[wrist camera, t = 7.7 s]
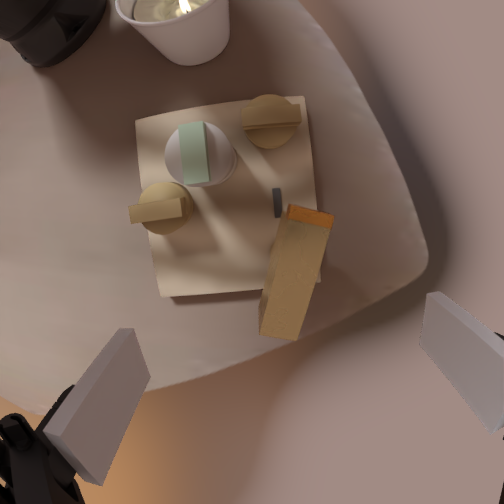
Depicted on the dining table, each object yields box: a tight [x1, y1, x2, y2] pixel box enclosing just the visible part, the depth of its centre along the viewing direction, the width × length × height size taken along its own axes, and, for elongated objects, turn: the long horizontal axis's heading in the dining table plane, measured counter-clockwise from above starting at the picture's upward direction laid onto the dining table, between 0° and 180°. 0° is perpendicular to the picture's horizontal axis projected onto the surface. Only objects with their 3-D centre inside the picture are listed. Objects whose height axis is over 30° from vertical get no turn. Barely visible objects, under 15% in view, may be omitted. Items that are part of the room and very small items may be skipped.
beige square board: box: [128, 94, 321, 297], centre depth 25 cm, size 20×18×11 cm
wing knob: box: [259, 203, 334, 341], centre depth 25 cm, size 3×10×10 cm, turn 167°
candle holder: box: [115, 0, 230, 66], centre depth 20 cm, size 10×10×12 cm
